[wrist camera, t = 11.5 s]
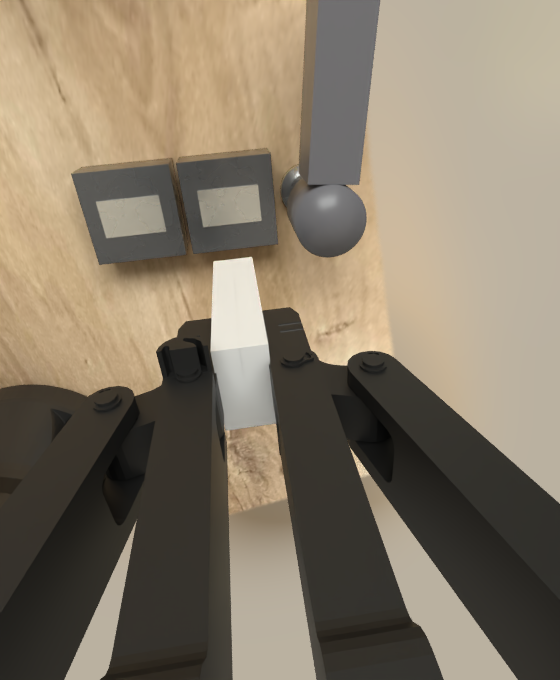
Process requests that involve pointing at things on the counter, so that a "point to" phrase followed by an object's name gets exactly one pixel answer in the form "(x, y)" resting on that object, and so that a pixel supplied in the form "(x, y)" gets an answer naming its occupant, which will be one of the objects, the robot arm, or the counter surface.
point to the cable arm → (333, 124)
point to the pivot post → (289, 182)
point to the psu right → (228, 200)
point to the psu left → (132, 210)
